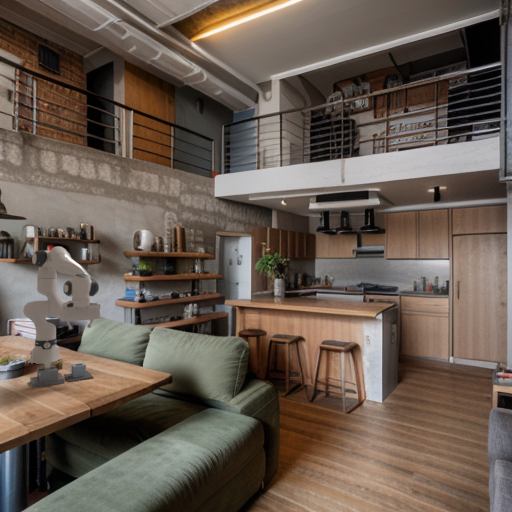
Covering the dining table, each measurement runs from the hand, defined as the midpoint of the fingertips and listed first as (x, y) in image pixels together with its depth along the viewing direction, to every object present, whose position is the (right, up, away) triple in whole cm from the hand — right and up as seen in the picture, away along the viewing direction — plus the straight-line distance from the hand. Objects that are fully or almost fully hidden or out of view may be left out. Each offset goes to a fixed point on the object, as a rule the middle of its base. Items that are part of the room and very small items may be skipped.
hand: (80, 328), depth 195 cm
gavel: (-19, -28, +6) cm, 34 cm away
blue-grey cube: (0, -26, -1) cm, 26 cm away
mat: (0, -27, -1) cm, 27 cm away
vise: (-12, -26, -10) cm, 31 cm away
